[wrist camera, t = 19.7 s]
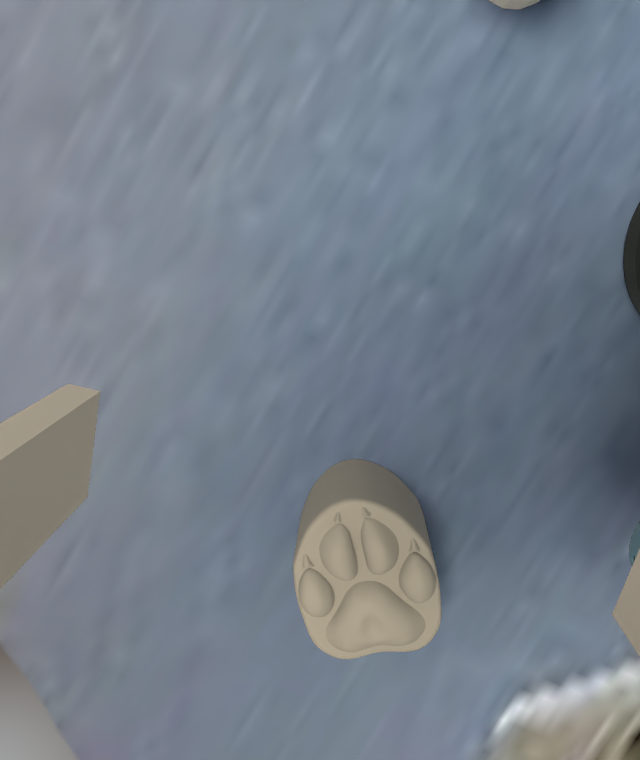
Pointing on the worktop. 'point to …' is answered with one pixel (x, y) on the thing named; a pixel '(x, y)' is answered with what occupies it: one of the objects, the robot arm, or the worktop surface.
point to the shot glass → (514, 3)
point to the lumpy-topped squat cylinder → (365, 564)
